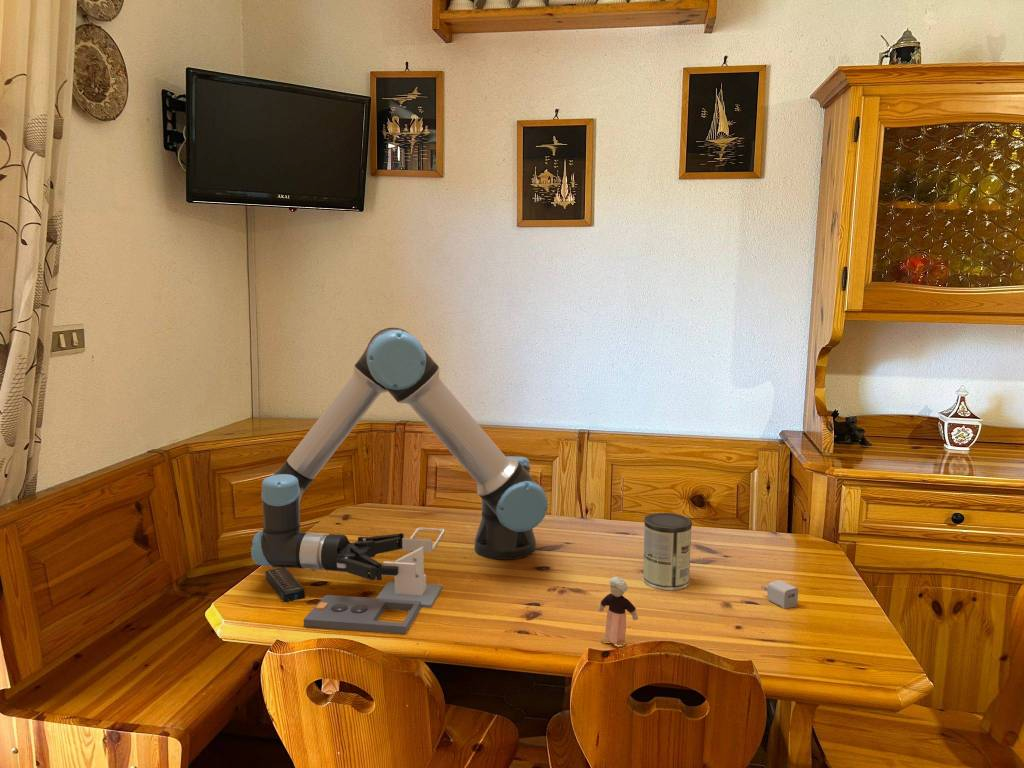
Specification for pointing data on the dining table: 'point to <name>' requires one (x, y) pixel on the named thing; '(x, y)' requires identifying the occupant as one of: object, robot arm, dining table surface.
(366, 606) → the grey control panel
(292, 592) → the multiport hub
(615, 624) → the grandmother figurine
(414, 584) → the white wedge bracket
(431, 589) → the rubber mat
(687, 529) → the coffee can
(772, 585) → the usb wall charger
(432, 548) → the phone case
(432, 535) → the dining table surface
